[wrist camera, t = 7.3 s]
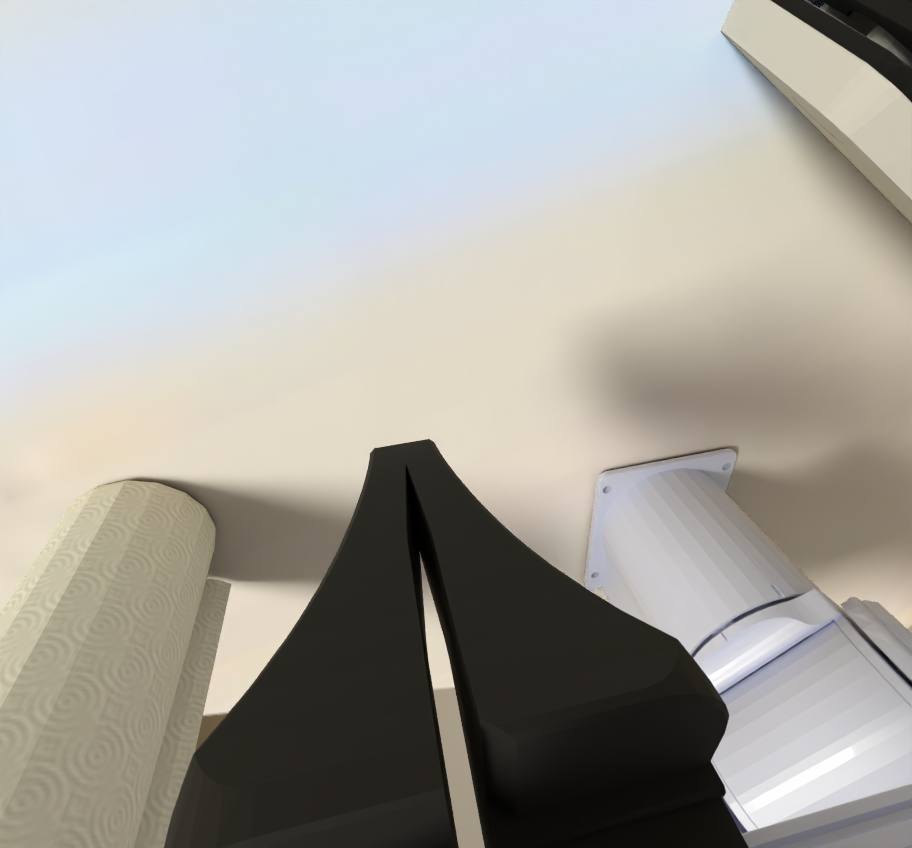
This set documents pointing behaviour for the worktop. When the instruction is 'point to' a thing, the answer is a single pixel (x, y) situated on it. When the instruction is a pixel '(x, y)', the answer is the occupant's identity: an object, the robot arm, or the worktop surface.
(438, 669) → the worktop surface
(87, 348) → the worktop surface
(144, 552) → the paper towel roll
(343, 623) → the robot arm
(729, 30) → the beige piece
